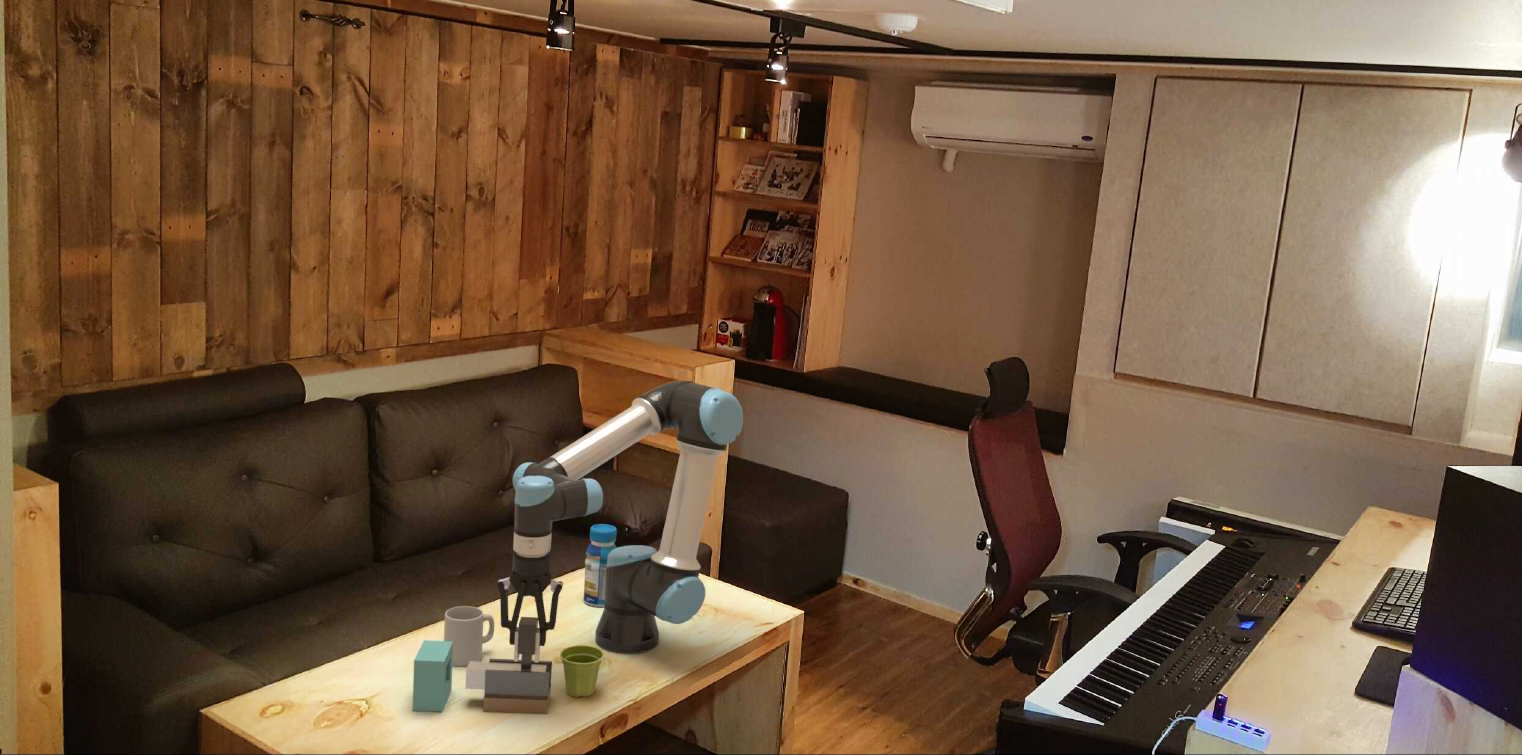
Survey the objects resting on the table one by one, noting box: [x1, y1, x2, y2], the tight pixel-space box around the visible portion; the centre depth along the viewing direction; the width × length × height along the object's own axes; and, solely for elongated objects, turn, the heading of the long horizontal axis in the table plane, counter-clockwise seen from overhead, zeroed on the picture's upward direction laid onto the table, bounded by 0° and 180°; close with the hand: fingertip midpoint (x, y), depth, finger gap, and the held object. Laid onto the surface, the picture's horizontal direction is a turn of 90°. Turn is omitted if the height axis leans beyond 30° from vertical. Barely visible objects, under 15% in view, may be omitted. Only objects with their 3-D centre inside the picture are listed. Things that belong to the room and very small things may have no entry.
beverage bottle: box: [583, 523, 618, 608], centre depth 308 cm, size 8×8×20 cm
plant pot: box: [559, 644, 605, 698], centre depth 258 cm, size 9×9×9 cm
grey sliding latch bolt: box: [465, 616, 547, 691], centre depth 249 cm, size 16×4×15 cm, turn 94°
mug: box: [443, 605, 495, 667], centre depth 271 cm, size 12×8×11 cm
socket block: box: [412, 639, 453, 713], centre depth 249 cm, size 6×10×11 cm, turn 4°
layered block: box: [482, 657, 553, 715], centre depth 251 cm, size 13×8×8 cm, turn 94°
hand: (526, 659), depth 250 cm, fingers closed on grey sliding latch bolt, 3 cm apart
